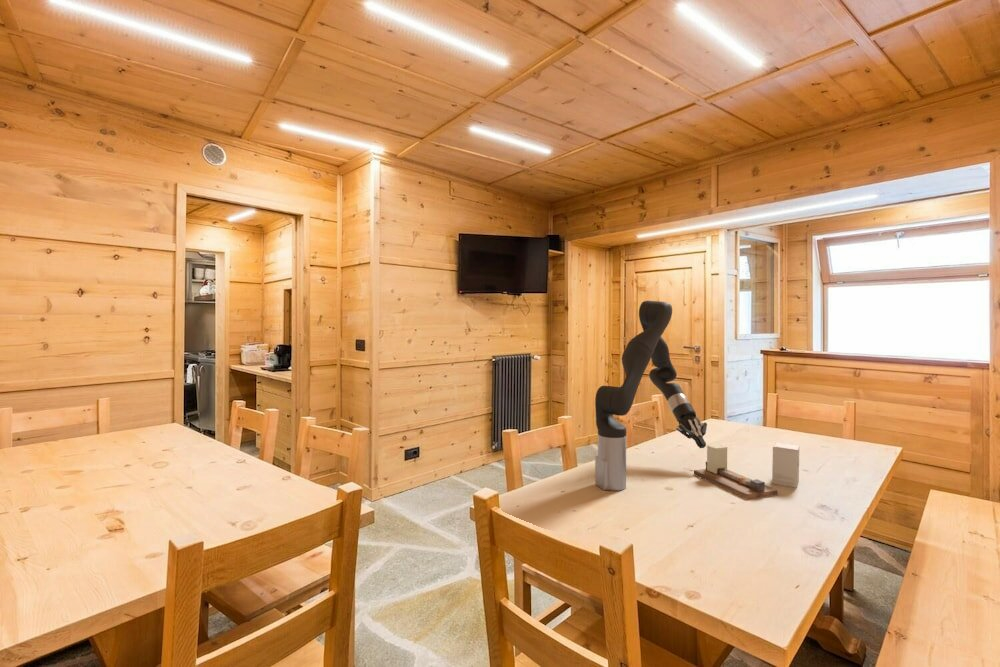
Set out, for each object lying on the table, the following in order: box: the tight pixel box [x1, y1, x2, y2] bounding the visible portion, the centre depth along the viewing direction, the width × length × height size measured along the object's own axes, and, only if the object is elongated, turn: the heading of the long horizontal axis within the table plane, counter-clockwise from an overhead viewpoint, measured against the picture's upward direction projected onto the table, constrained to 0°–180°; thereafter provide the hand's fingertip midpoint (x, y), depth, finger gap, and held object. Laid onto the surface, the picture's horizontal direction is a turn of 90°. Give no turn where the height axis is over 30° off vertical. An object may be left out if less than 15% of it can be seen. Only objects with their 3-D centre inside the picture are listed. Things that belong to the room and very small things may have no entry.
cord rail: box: [693, 461, 779, 500], centre depth 156 cm, size 12×24×4 cm, turn 16°
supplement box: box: [771, 442, 800, 488], centre depth 157 cm, size 7×7×13 cm
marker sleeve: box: [706, 443, 728, 474], centre depth 163 cm, size 5×4×9 cm
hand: (703, 447), depth 170 cm, fingers closed
